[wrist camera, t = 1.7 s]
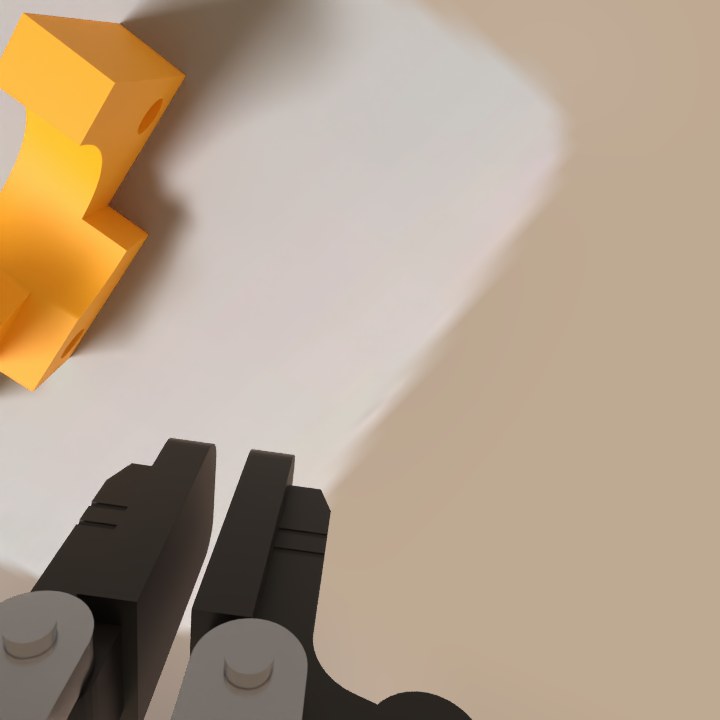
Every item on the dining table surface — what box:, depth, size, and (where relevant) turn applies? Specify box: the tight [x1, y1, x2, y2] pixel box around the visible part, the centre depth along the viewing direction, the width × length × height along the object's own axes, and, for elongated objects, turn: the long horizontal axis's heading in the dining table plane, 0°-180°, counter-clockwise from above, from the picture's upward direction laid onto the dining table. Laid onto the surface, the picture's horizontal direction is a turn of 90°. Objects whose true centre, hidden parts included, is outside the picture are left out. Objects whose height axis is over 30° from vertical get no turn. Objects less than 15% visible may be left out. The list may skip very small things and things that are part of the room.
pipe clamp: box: [0, 13, 186, 392], centre depth 22 cm, size 12×4×6 cm, turn 142°
